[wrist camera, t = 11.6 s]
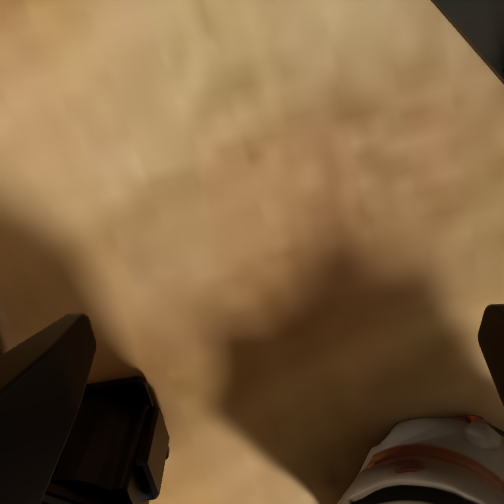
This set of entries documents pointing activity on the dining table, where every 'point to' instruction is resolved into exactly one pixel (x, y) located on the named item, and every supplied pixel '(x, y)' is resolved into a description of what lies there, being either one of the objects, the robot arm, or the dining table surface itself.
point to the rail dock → (479, 28)
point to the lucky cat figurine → (433, 464)
